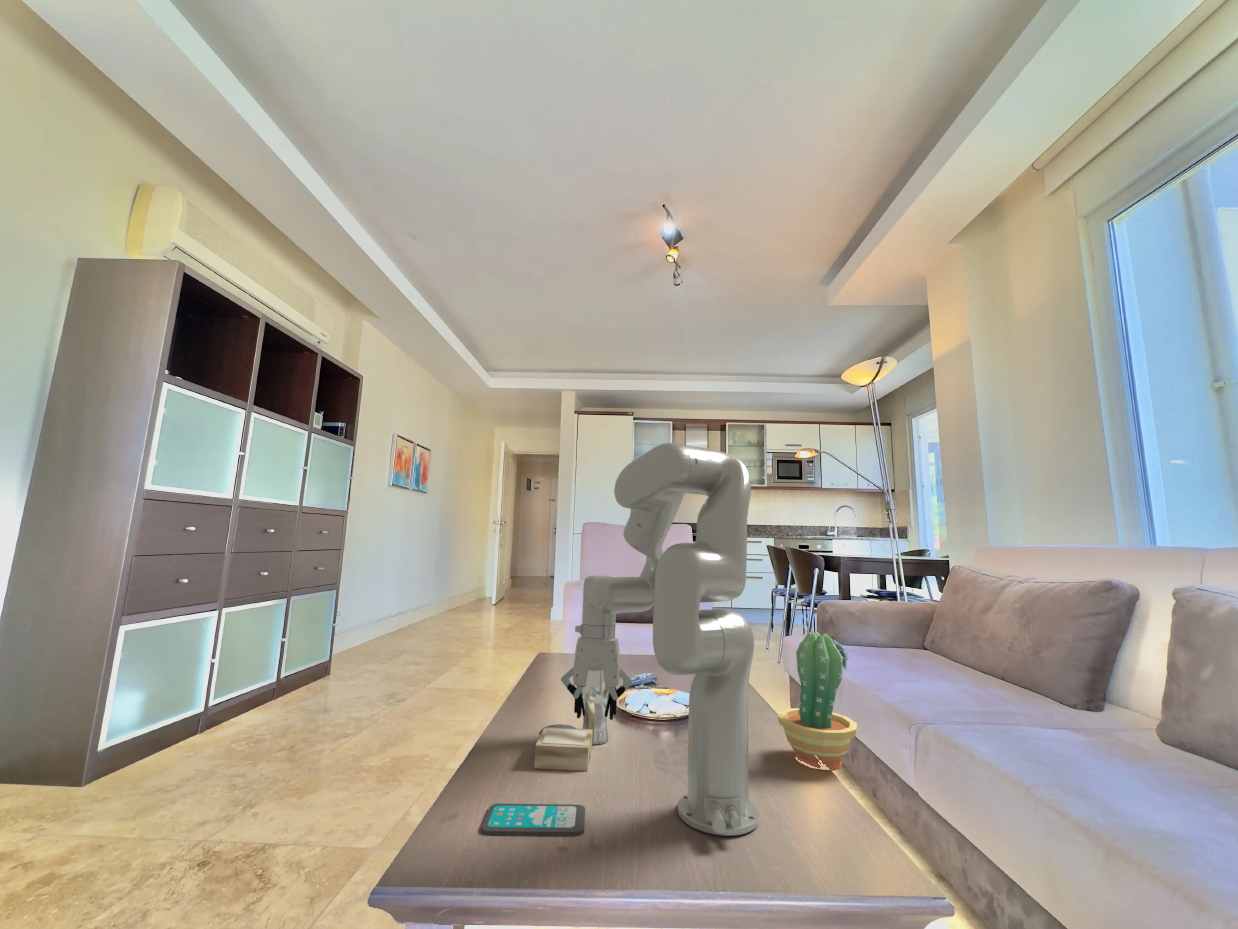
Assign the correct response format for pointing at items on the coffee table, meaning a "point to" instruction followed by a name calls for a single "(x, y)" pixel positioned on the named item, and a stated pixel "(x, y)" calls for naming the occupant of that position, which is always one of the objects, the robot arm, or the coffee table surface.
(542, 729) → the rubber coaster
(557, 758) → the oak plinth
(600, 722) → the beer glass
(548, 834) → the smartphone
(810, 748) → the potted cactus
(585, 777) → the coffee table surface
